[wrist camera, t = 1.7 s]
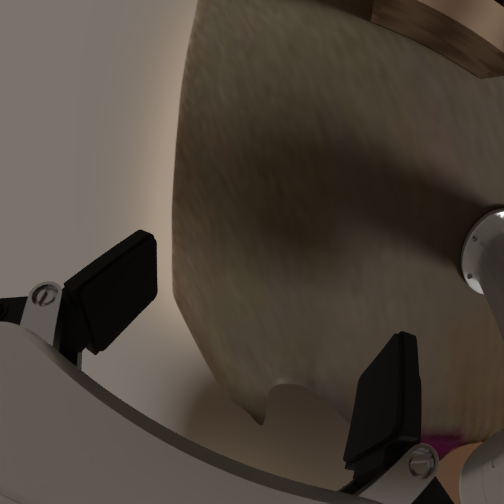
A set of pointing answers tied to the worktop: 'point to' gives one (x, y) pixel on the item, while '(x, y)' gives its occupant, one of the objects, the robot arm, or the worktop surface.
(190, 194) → the worktop surface
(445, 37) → the box
